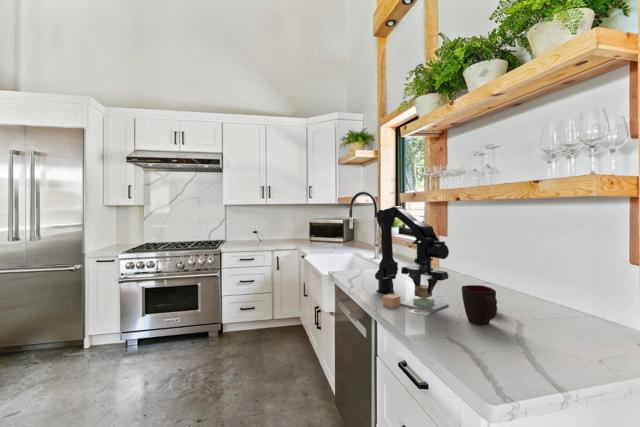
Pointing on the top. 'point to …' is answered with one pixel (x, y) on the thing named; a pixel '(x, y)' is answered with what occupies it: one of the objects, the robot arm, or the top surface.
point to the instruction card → (419, 312)
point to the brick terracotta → (391, 300)
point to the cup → (479, 304)
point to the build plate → (427, 309)
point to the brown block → (422, 291)
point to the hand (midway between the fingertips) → (423, 293)
